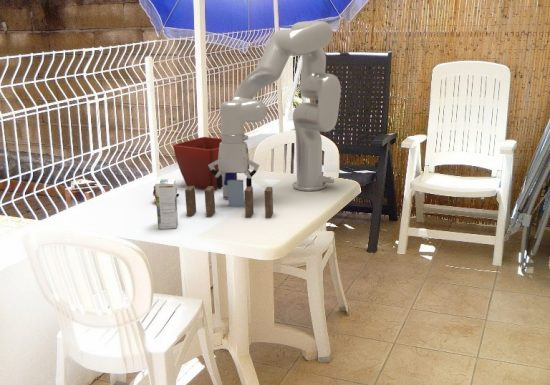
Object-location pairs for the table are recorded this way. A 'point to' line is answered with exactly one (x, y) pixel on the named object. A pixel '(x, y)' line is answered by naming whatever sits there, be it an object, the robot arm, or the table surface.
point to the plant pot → (198, 161)
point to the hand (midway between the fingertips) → (234, 188)
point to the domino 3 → (235, 193)
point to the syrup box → (166, 203)
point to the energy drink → (225, 185)
